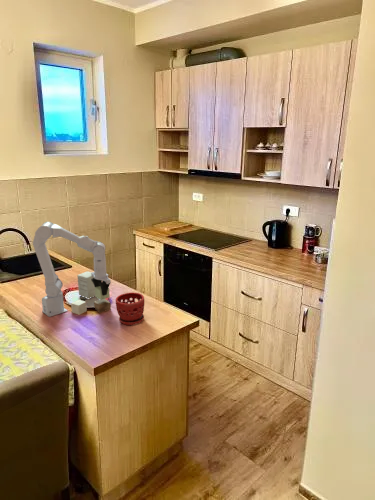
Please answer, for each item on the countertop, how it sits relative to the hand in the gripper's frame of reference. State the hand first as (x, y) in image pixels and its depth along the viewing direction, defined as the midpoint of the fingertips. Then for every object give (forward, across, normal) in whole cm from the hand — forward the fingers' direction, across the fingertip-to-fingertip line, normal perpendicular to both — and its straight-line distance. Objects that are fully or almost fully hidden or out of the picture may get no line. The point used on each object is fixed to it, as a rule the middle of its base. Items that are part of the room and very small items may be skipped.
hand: (101, 293), depth 179 cm
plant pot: (+9, -20, -3) cm, 22 cm away
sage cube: (+2, 0, 0) cm, 2 cm away
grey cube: (+9, +5, +10) cm, 14 cm away
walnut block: (+9, 0, 0) cm, 9 cm away
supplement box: (+9, +19, -3) cm, 21 cm away
